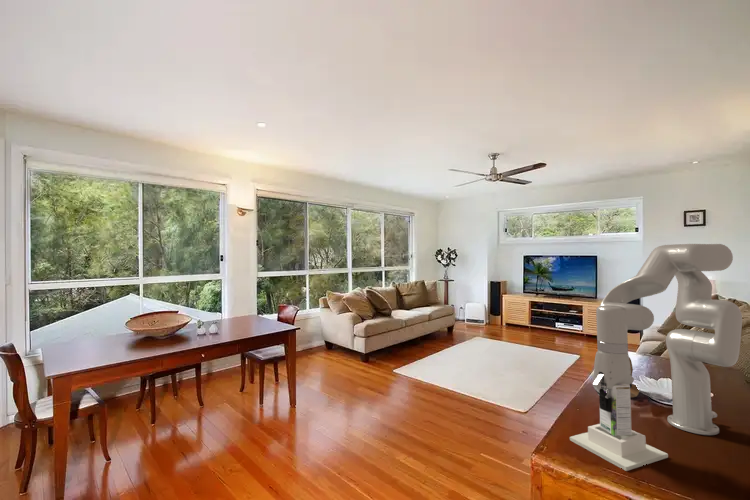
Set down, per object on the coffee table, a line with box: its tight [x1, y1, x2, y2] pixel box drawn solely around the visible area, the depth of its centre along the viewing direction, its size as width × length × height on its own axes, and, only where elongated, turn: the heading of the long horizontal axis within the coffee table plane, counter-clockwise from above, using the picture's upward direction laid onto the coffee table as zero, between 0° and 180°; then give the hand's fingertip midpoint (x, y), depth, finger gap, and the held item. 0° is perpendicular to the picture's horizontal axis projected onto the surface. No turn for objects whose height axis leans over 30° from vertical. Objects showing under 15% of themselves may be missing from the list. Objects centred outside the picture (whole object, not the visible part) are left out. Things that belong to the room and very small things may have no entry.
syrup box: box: [599, 384, 632, 436], centre depth 102 cm, size 6×6×14 cm
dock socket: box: [569, 423, 669, 472], centre depth 102 cm, size 17×17×5 cm
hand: (614, 407), depth 102 cm, fingers closed on syrup box, 6 cm apart
